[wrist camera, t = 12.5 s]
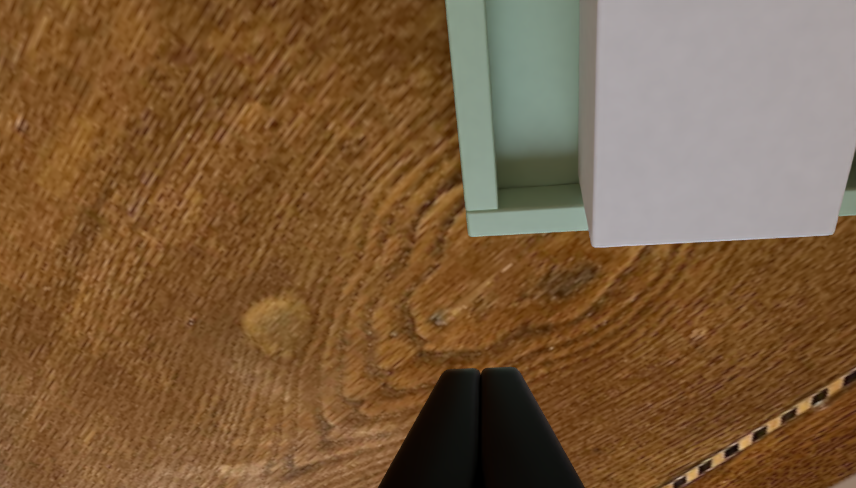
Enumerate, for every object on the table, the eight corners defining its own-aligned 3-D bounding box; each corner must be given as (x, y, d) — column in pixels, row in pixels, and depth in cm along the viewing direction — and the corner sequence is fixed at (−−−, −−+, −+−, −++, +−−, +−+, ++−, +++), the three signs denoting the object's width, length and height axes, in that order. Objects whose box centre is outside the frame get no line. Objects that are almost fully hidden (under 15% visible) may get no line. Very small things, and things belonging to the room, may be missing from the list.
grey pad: (789, 162, 18) (835, 236, 16) (577, 175, 19) (591, 249, 17) (853, -163, 14) (929, -128, 12) (580, -134, 15) (599, -95, 12)
